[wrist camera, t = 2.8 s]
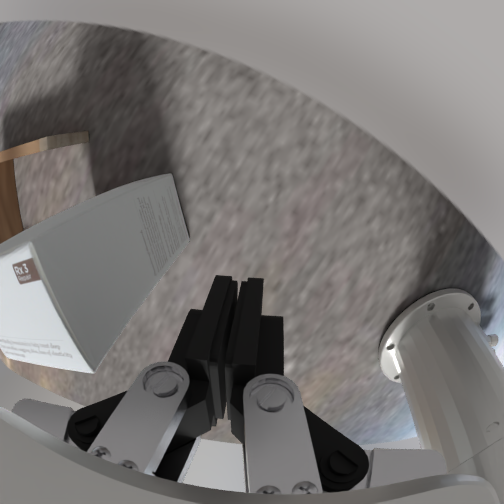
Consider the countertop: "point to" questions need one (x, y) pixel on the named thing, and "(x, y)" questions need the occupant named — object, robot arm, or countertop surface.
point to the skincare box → (87, 273)
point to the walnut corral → (3, 179)
